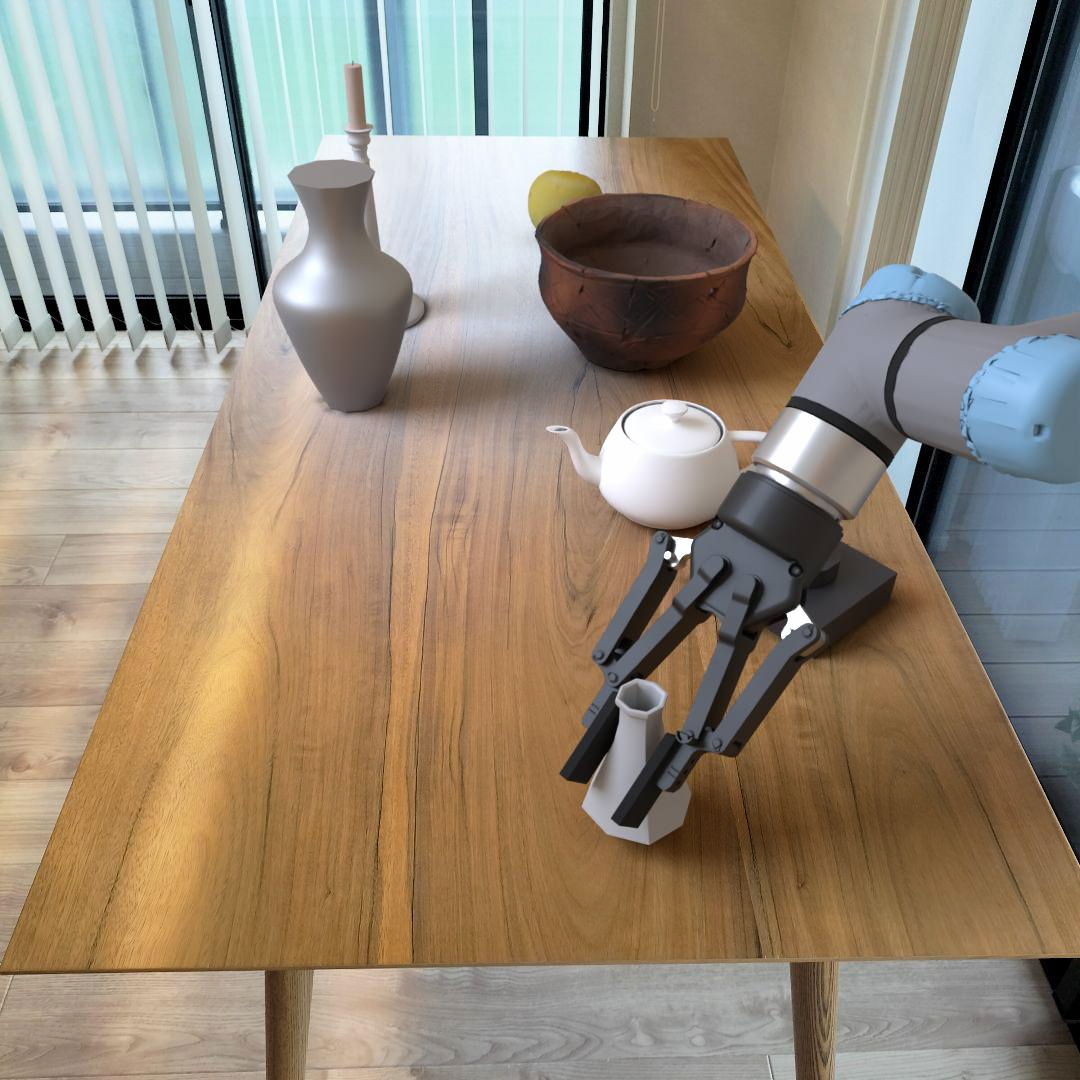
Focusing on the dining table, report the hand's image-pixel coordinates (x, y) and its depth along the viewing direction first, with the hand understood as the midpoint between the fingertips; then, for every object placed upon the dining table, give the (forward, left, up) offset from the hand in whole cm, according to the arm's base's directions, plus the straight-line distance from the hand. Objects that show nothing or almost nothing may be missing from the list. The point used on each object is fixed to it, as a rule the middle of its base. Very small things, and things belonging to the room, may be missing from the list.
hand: (598, 800), depth 70 cm
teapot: (+25, -33, -5) cm, 41 cm away
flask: (0, -4, -4) cm, 5 cm away
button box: (+8, -32, -5) cm, 33 cm away
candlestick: (+77, -36, -5) cm, 85 cm away
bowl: (+48, -54, -5) cm, 72 cm away
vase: (+61, -22, -5) cm, 65 cm away
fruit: (+79, -71, -5) cm, 106 cm away
